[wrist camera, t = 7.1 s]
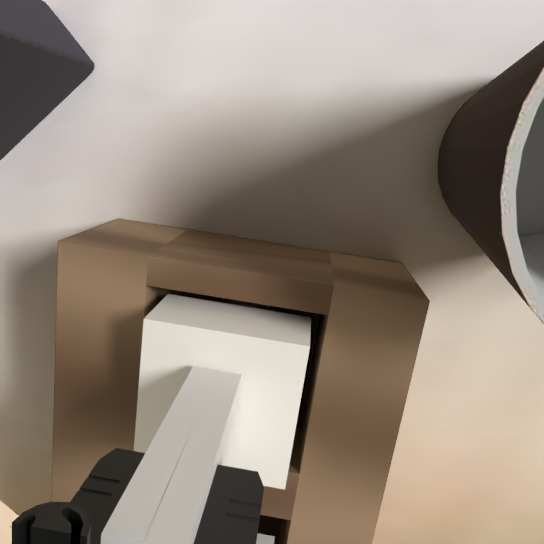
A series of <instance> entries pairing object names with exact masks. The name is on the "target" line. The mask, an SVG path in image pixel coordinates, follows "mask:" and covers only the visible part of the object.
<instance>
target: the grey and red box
mask: <svg viewBox="0 0 544 544" xmlns="http://www.w3.org/2000/svg"><path fill="white" fill-rule="evenodd" d="M93 69H94V63H93V62H92V60H91V59H90V58H89V56H88V55H87V54H86V53H85V51H84V50H83V49H82V47H81V46H80V45H79V44H78V42H77V41H76V40H75V39H74V37H73V36H72V35H71V34H70V32H69V31H68V30H67V29H66V27H65V26H64V25H63V24H62V22H61V21H60V20H59V19H58V17H57V16H56V15H55V14H54V12H53V11H52V10H51V9H50V7H49V6H48V5H47V4H46V3H45V2H44V1H42V0H0V160H1V159H2V158H3V157H4V156H5V155H6V154H7V153H8V152H9V151H10V150H11V149H12V148H13V147H14V146H15V145H17V144H18V143H19V142H20V141H21V140H22V139H23V138H24V137H25V136H26V135H27V134H28V133H29V132H30V131H31V130H32V129H33V128H34V127H35V126H36V125H37V124H39V123H40V122H41V121H42V120H43V119H44V118H45V117H46V116H47V115H48V114H49V113H50V112H51V111H52V110H53V109H54V108H55V107H56V106H57V105H58V104H59V103H61V102H62V101H63V100H64V99H65V98H66V97H67V96H68V95H69V94H70V93H71V92H72V91H73V90H74V89H75V88H76V87H77V86H78V85H79V84H80V83H81V82H82V81H84V80H85V79H86V78H87V77H88V76H89V75H90V74H91V73H92V71H93Z"/></svg>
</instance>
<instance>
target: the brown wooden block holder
mask: <svg viewBox="0 0 544 544" xmlns="http://www.w3.org/2000/svg"><path fill="white" fill-rule="evenodd" d="M182 291H183V292H190V293H196V294H202V295H208V296H214V297H220V298H226V299H232V300H239V301H245V302H251V303H257V304H263V305H269V306H275V307H281V308H287V309H294V310H300V311H306V312H312V313H318V314H319V317H318V322H317V328H316V334H315V339H314V345H313V350H312V356H311V362H310V367H309V373H308V379H307V384H306V390H305V396H304V401H300V407H299V413H298V418H297V424H296V430H295V436H294V441H293V447H292V453H291V458H290V464H289V470H288V476H287V481H286V487H285V490H284V489H279V488H273V487H268V486H264V493H263V499H262V506H261V513H260V515H265V516H270V517H276V518H281V519H283V520H282V526H281V531H280V537H279V543H278V544H372V540H373V536H374V532H375V527H376V523H377V519H378V515H379V511H380V506H381V502H382V498H383V494H384V490H385V486H386V481H387V477H388V473H389V469H390V465H391V460H392V456H393V452H394V448H395V444H396V440H397V435H398V431H399V427H400V423H401V419H402V414H403V410H404V406H405V402H406V398H407V394H408V389H409V385H410V381H411V377H412V373H413V368H414V364H415V360H416V356H417V352H418V348H419V343H420V339H421V335H422V331H423V327H424V322H425V318H426V314H427V310H428V306H429V302H430V301H429V299H428V298H427V297H426V295H425V294H424V292H423V291H422V290H421V288H420V287H419V285H418V284H417V283H416V281H415V280H414V278H413V277H412V276H411V274H410V273H409V271H408V270H407V269H406V267H405V266H404V264H403V263H398V262H392V261H386V260H379V259H373V258H367V257H360V256H354V255H348V254H341V253H335V252H328V251H322V250H316V249H309V248H303V247H297V246H290V245H284V244H277V243H271V242H265V241H258V240H252V239H246V238H239V237H233V236H227V235H220V234H214V233H207V232H201V231H195V230H188V229H182V228H176V227H169V226H163V225H156V224H150V223H144V222H137V221H131V220H125V219H116V220H113V221H111V222H108V223H105V224H103V225H100V226H97V227H95V228H92V229H89V230H87V231H84V232H82V233H79V234H76V235H74V236H71V237H68V238H66V239H63V240H60V241H58V265H57V305H56V345H55V384H54V424H53V464H52V502H70V501H71V500H72V498H73V497H74V495H75V494H76V493H77V491H79V489H80V487H81V485H82V484H83V482H84V481H85V479H86V478H88V475H89V474H90V472H91V471H92V469H93V468H94V466H95V465H96V463H97V462H98V460H99V459H101V458H102V457H104V456H105V455H106V454H108V453H109V452H111V451H112V450H114V449H115V448H120V449H126V450H131V451H134V439H135V426H136V413H137V400H138V386H139V373H140V360H141V347H142V334H143V321H144V318H145V317H146V316H147V315H148V314H149V313H150V312H151V311H152V310H153V309H154V308H155V307H156V306H157V305H158V304H159V303H160V302H161V301H162V300H163V299H164V298H165V297H166V296H167V295H168V294H172V295H178V296H182Z"/></svg>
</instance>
